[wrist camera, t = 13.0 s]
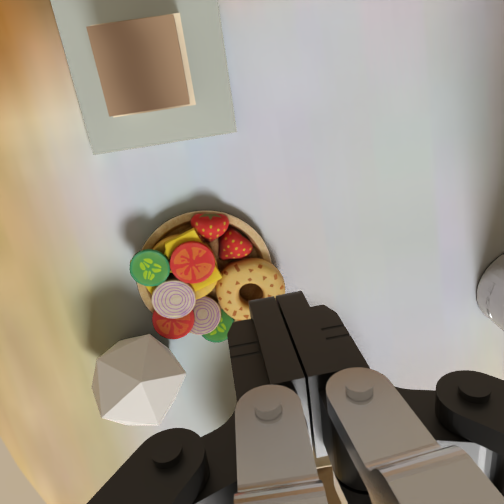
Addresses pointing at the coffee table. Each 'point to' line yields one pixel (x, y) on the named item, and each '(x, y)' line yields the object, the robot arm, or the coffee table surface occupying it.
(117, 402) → the die
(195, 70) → the board
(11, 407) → the coffee table surface
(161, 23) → the walnut cube
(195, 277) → the toy food set
